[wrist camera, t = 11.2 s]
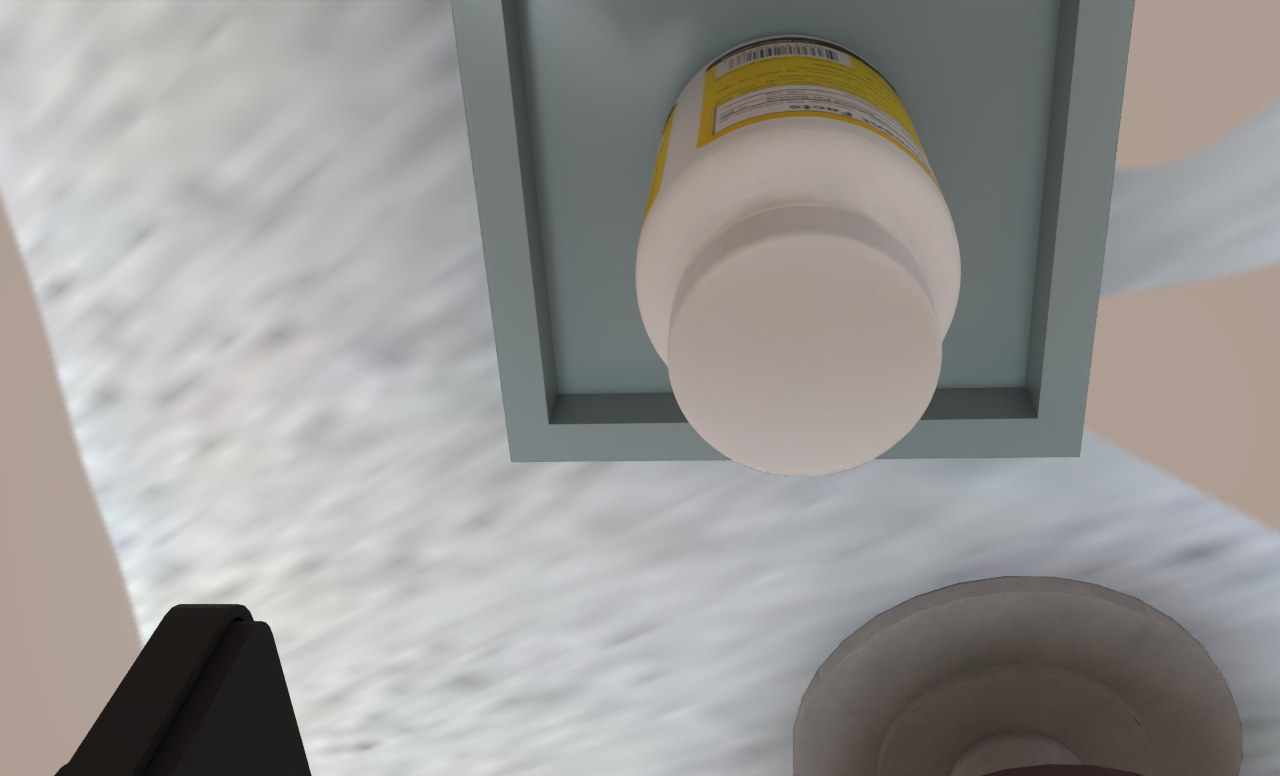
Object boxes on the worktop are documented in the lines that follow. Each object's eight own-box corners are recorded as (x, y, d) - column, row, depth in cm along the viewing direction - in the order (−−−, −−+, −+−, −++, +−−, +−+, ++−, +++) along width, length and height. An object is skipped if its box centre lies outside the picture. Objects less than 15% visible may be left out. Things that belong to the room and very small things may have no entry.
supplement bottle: (782, 317, 28) (790, 577, 19) (610, 156, 26) (536, 360, 18) (968, 156, 26) (1071, 367, 17) (792, -30, 24) (807, 99, 16)
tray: (462, -145, 25) (433, -135, 23) (1119, -188, 23) (1156, -182, 21) (528, 411, 31) (511, 462, 28) (1055, 404, 29) (1079, 456, 27)
